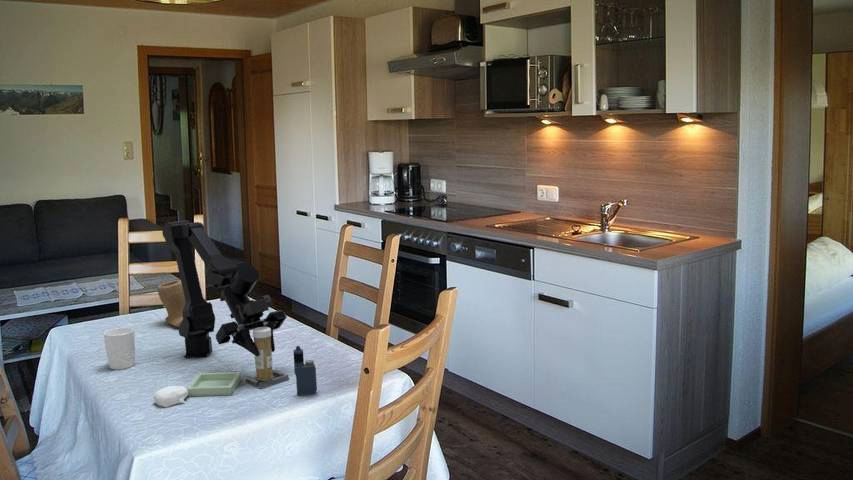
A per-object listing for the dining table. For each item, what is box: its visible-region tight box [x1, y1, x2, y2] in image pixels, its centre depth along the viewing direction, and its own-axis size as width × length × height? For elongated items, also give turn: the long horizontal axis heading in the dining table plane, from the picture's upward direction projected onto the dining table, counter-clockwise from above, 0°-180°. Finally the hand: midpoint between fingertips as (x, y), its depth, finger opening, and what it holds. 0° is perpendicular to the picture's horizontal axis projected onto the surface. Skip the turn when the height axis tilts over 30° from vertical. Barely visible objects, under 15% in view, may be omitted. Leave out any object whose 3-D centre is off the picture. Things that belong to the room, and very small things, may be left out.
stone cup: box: [156, 279, 186, 328], centre depth 246 cm, size 15×12×15 cm
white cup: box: [103, 327, 136, 370], centre depth 206 cm, size 8×8×10 cm
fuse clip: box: [245, 369, 290, 390], centre depth 191 cm, size 7×9×1 cm
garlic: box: [153, 385, 188, 408], centre depth 179 cm, size 8×7×4 cm
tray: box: [186, 371, 242, 397], centre depth 188 cm, size 11×11×2 cm
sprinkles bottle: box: [252, 327, 274, 382], centre depth 191 cm, size 5×5×13 cm
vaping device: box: [292, 345, 318, 396], centre depth 181 cm, size 3×5×12 cm, turn 95°
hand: (266, 353), depth 190 cm, fingers closed on sprinkles bottle, 4 cm apart
